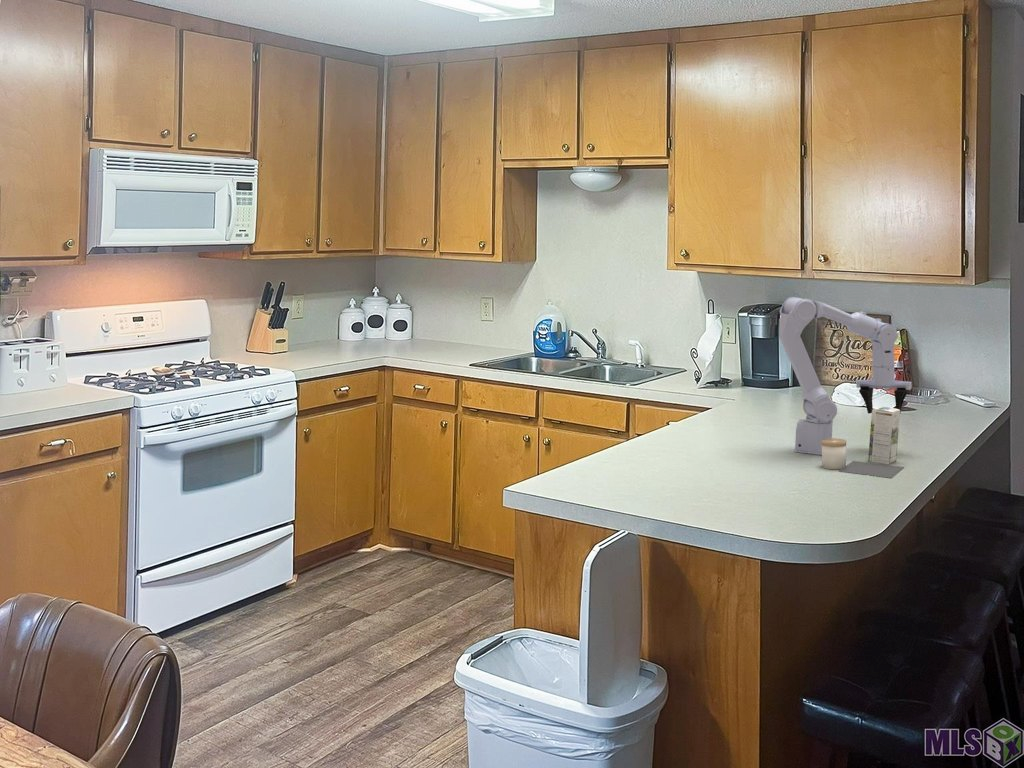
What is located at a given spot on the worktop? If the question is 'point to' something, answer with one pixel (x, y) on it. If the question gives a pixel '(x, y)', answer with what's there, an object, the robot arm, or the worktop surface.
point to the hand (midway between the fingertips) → (883, 413)
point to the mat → (872, 469)
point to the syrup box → (884, 435)
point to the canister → (833, 453)
